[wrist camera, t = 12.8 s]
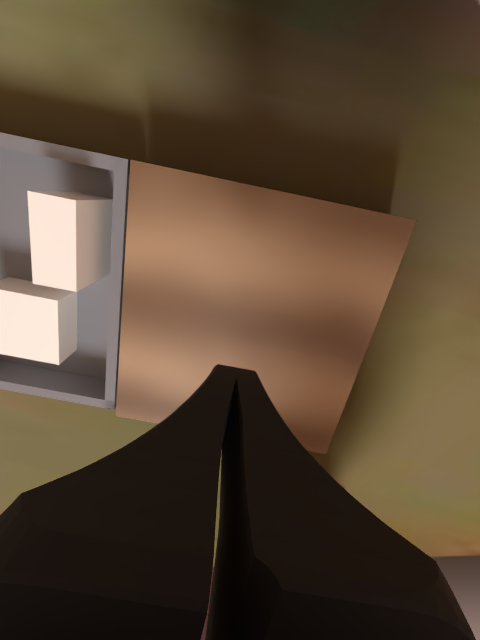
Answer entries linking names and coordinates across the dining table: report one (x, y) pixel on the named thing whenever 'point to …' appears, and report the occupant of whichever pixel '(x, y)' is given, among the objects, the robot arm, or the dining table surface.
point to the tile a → (37, 321)
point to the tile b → (69, 238)
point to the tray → (92, 301)
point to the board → (249, 294)
